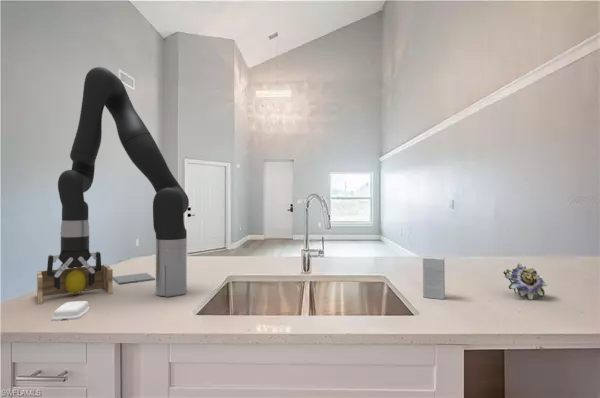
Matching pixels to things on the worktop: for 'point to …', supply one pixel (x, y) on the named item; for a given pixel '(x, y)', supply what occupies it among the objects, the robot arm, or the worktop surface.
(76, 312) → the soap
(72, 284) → the lemon
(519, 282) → the passion flower
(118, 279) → the slate coaster
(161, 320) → the worktop surface
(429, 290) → the skincare box
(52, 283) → the open u-shaped oak frame
